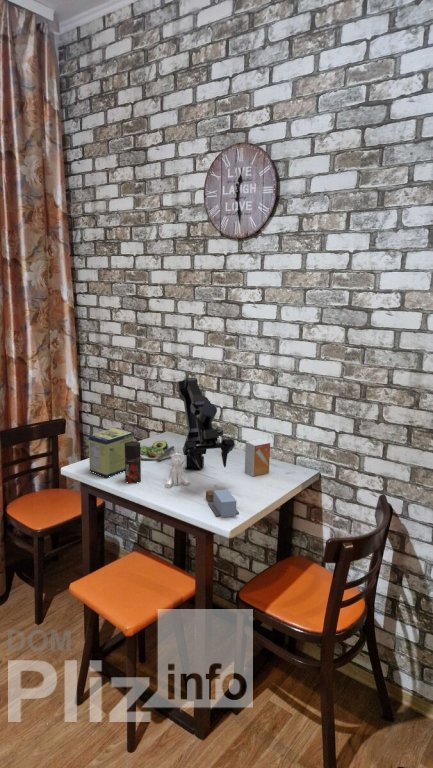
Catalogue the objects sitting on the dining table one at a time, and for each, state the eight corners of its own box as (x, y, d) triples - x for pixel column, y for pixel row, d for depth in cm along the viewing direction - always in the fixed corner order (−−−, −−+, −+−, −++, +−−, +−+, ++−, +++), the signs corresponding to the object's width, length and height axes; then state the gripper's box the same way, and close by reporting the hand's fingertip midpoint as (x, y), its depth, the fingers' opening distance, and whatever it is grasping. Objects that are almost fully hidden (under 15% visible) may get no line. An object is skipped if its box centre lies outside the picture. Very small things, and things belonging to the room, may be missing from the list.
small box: (253, 477, 208) (254, 445, 206) (244, 472, 213) (245, 441, 211) (269, 473, 213) (270, 442, 210) (259, 468, 218) (260, 438, 215)
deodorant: (143, 479, 205) (143, 442, 202) (136, 484, 199) (135, 446, 196) (130, 476, 206) (129, 440, 203) (122, 482, 201) (121, 445, 198)
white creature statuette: (165, 488, 196) (165, 458, 193) (162, 480, 204) (162, 450, 201) (190, 487, 198) (190, 456, 195) (186, 478, 206) (186, 449, 204)
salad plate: (178, 462, 224) (178, 452, 223) (136, 464, 221) (135, 454, 220) (173, 448, 243) (173, 438, 242) (134, 449, 240) (134, 440, 239)
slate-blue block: (213, 490, 180) (221, 502, 171) (227, 489, 182) (236, 500, 172) (213, 504, 181) (221, 516, 172) (227, 502, 183) (236, 515, 173)
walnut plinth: (205, 498, 187) (205, 490, 187) (224, 496, 189) (224, 488, 189) (208, 503, 184) (208, 495, 183) (227, 500, 186) (227, 493, 185)
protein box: (135, 467, 217) (134, 431, 214) (106, 478, 204) (105, 440, 201) (117, 462, 223) (116, 427, 220) (88, 472, 210) (87, 435, 207)
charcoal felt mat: (208, 504, 183) (208, 502, 182) (230, 502, 185) (230, 500, 185) (216, 516, 173) (216, 515, 173) (239, 514, 175) (239, 512, 175)
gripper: (184, 420, 188) (191, 460, 180) (234, 417, 193) (242, 456, 185) (179, 435, 197) (186, 473, 189) (227, 431, 202) (235, 469, 194)
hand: (212, 467), depth 189 cm, fingers open, 9 cm apart
